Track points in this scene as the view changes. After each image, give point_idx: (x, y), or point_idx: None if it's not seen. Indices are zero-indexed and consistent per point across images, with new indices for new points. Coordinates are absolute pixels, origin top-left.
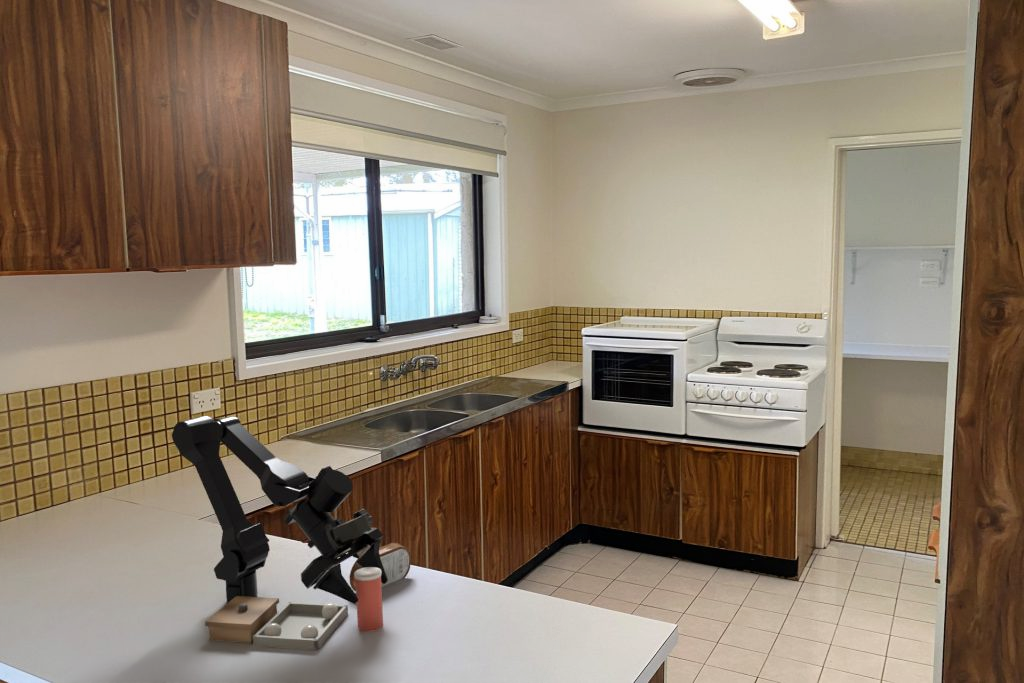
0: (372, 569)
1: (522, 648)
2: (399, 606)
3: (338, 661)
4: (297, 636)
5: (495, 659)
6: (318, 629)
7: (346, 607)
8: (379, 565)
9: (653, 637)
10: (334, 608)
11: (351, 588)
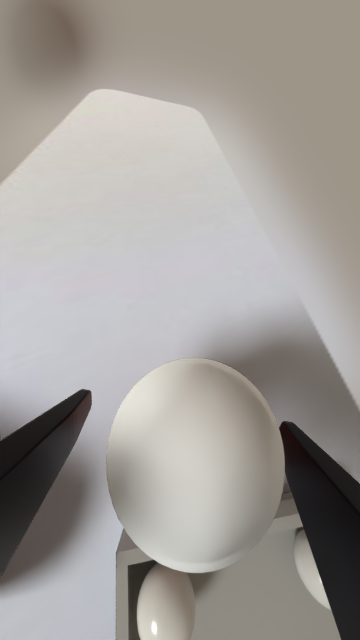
0: (147, 437)
1: (177, 180)
2: (44, 401)
3: (315, 415)
4: (298, 629)
5: (212, 199)
6: (236, 575)
7: (126, 548)
8: (25, 449)
9: (125, 96)
10: (174, 585)
11: (325, 470)
